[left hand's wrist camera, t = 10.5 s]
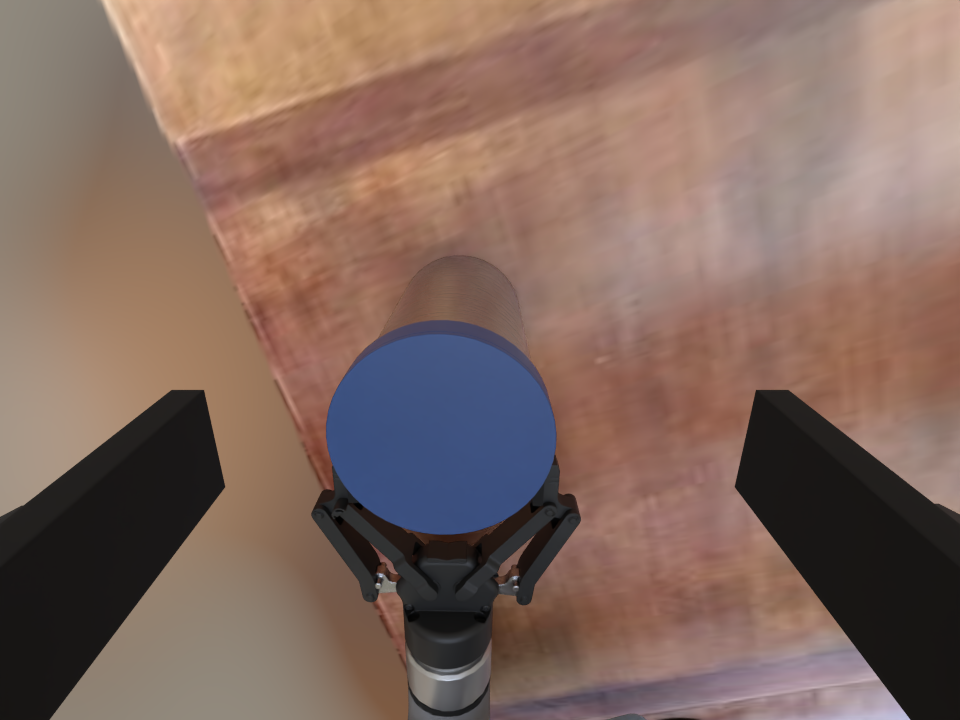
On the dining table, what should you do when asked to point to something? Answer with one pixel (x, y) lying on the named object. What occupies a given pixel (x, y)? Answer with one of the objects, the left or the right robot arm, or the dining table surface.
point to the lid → (442, 428)
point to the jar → (462, 299)
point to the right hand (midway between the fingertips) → (445, 416)
